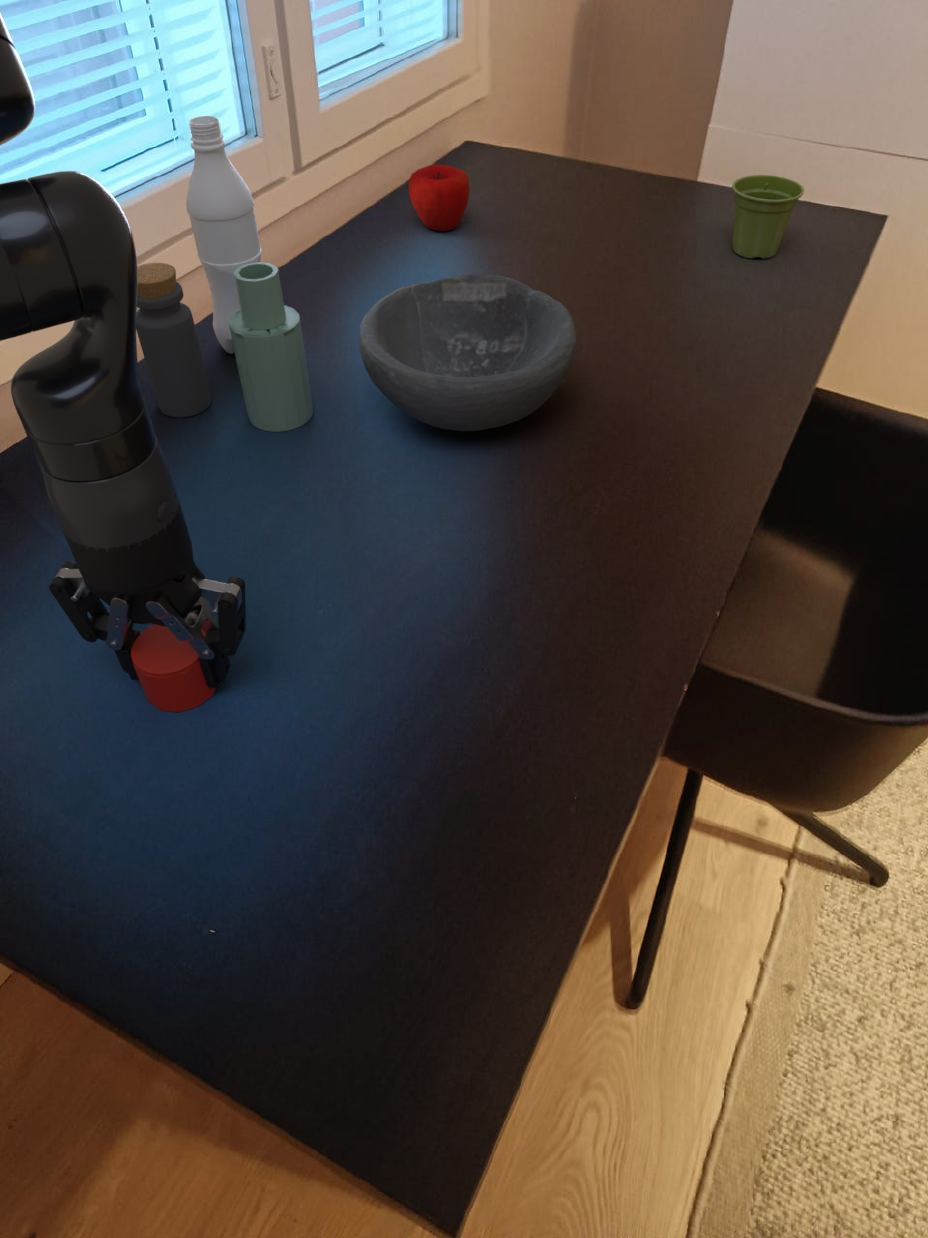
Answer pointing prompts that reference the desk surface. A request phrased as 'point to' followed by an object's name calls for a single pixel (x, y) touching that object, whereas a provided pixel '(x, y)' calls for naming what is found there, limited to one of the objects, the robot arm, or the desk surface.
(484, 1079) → the desk surface
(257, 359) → the ceramic bottle
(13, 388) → the robot arm
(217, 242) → the water bottle
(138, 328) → the bottle
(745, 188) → the plant pot
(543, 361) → the bowl
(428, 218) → the apple
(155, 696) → the cap
